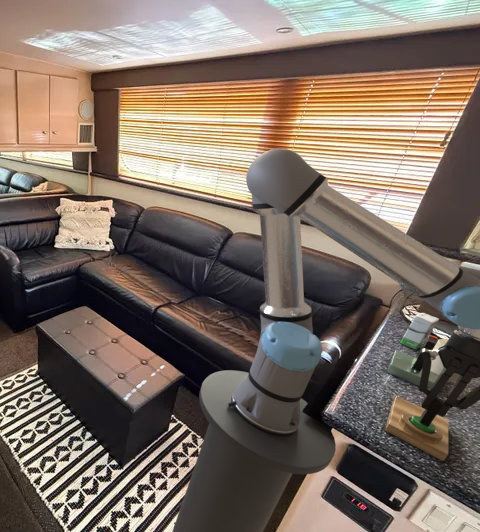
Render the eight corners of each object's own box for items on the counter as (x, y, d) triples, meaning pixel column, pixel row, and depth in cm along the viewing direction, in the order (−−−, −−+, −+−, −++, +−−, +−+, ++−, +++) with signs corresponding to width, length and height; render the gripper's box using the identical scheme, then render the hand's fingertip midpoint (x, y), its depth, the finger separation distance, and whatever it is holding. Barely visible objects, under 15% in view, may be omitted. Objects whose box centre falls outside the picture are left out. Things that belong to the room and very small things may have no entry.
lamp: (414, 413, 78) (453, 353, 72) (396, 391, 86) (430, 335, 79) (455, 424, 76) (499, 363, 70) (432, 401, 83) (470, 344, 77)
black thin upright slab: (420, 371, 98) (437, 343, 94) (411, 367, 99) (428, 340, 95) (421, 364, 101) (438, 337, 98) (413, 360, 103) (429, 334, 99)
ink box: (416, 350, 115) (433, 322, 111) (399, 343, 119) (414, 315, 115) (424, 345, 120) (440, 318, 116) (406, 338, 124) (422, 311, 119)
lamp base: (443, 461, 71) (452, 448, 69) (384, 430, 77) (392, 418, 76) (444, 426, 81) (452, 414, 79) (392, 401, 88) (399, 390, 86)
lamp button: (431, 438, 72) (435, 432, 72) (408, 426, 75) (411, 420, 75) (432, 429, 75) (436, 424, 74) (409, 418, 78) (413, 412, 77)
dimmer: (435, 393, 93) (441, 385, 92) (386, 372, 101) (391, 364, 99) (436, 375, 102) (441, 367, 101) (391, 356, 110) (396, 349, 108)
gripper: (529, 347, 64) (464, 433, 72) (437, 318, 73) (389, 397, 81) (535, 360, 59) (465, 450, 68) (437, 327, 68) (386, 410, 76)
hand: (424, 421), depth 74 cm, fingers closed
